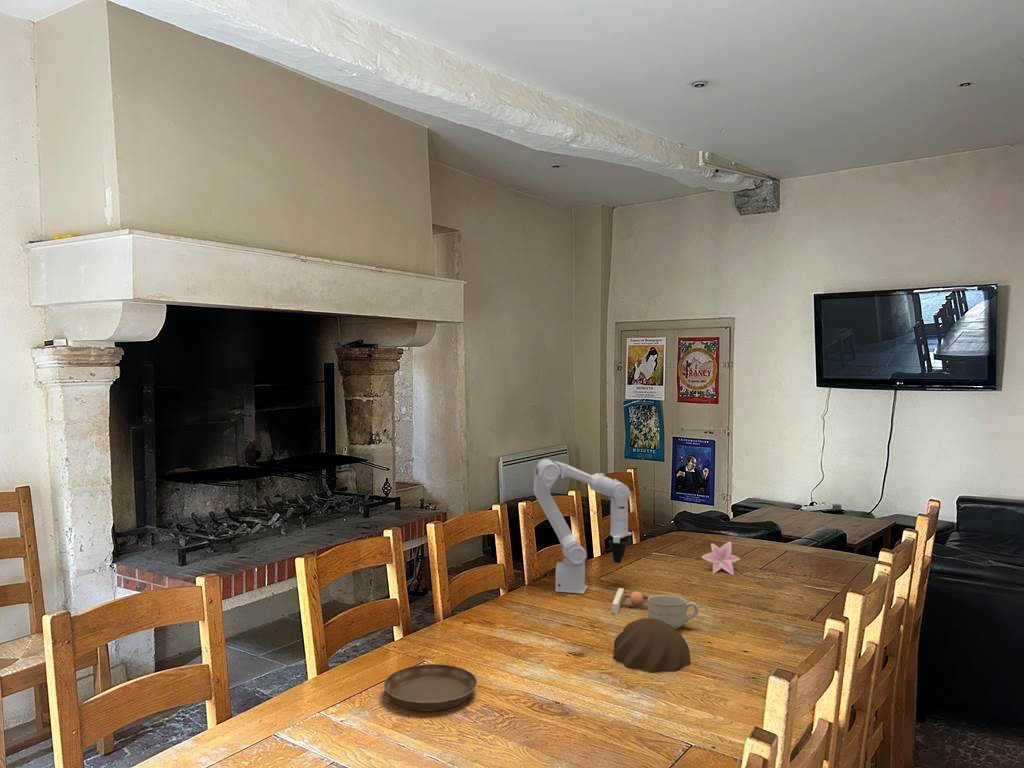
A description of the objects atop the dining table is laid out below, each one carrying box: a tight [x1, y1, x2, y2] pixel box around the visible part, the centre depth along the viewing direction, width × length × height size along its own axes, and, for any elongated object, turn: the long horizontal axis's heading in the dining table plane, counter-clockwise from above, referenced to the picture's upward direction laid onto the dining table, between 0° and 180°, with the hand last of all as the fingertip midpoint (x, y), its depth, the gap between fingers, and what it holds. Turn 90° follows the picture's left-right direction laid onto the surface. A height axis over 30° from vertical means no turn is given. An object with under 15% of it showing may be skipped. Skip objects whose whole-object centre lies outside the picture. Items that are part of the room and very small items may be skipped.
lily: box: [701, 541, 741, 575], centre depth 268 cm, size 12×12×10 cm
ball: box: [630, 590, 644, 605], centre depth 228 cm, size 4×4×4 cm
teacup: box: [647, 594, 699, 630], centre depth 209 cm, size 14×11×8 cm
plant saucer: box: [383, 663, 478, 712], centre depth 166 cm, size 21×21×3 cm
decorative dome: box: [612, 617, 691, 674], centre depth 188 cm, size 19×20×10 cm
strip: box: [611, 587, 625, 615], centre depth 228 cm, size 2×16×3 cm, turn 165°
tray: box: [620, 594, 650, 610], centre depth 230 cm, size 9×9×1 cm
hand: (618, 559), depth 246 cm, fingers open, 7 cm apart
